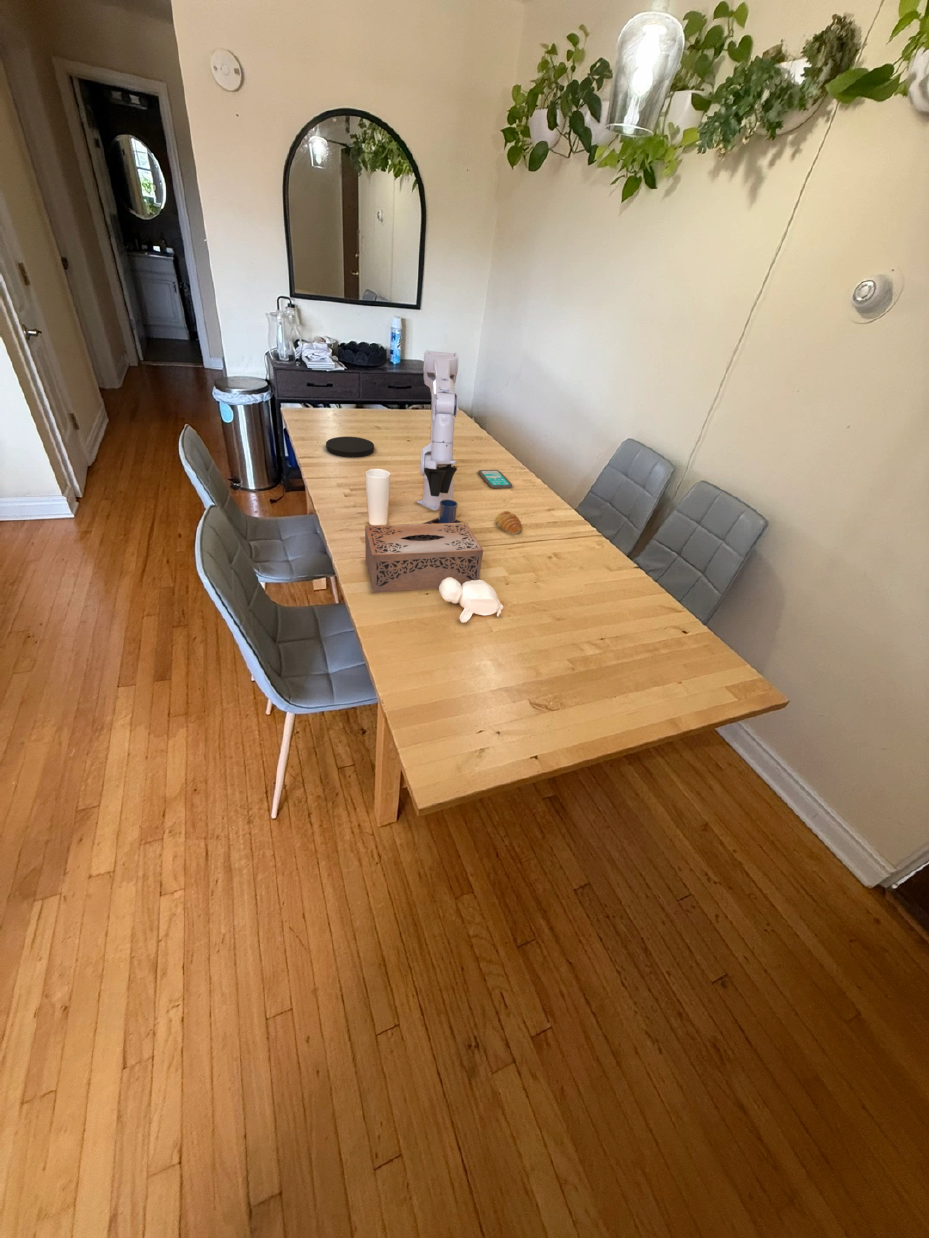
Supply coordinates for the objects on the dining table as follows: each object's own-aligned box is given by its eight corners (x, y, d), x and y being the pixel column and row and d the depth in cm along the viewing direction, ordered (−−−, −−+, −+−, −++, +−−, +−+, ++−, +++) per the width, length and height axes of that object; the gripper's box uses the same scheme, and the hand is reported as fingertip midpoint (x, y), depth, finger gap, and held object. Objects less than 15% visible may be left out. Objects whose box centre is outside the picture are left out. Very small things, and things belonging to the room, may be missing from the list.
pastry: (526, 534, 151) (529, 522, 148) (507, 537, 148) (509, 525, 146) (511, 520, 157) (513, 509, 155) (492, 522, 155) (493, 511, 152)
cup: (446, 523, 150) (448, 498, 145) (458, 529, 147) (461, 504, 143) (434, 528, 147) (436, 502, 142) (446, 534, 144) (449, 508, 140)
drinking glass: (385, 530, 144) (385, 479, 135) (362, 526, 144) (361, 475, 135) (392, 520, 149) (393, 471, 140) (370, 516, 150) (370, 467, 141)
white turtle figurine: (482, 609, 123) (427, 594, 115) (499, 580, 119) (443, 563, 112) (493, 630, 116) (435, 616, 109) (511, 601, 112) (453, 584, 105)
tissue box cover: (372, 592, 118) (372, 555, 112) (365, 561, 129) (365, 525, 123) (478, 585, 125) (483, 550, 119) (462, 556, 136) (466, 522, 130)
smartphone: (498, 469, 189) (513, 484, 178) (498, 471, 190) (513, 487, 179) (477, 469, 187) (490, 485, 176) (476, 472, 187) (490, 488, 176)
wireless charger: (350, 438, 203) (350, 433, 202) (383, 451, 196) (383, 445, 195) (316, 447, 191) (315, 442, 190) (349, 461, 184) (349, 455, 183)
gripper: (448, 444, 127) (444, 499, 132) (464, 443, 140) (461, 493, 145) (421, 441, 129) (419, 496, 134) (440, 441, 142) (437, 490, 147)
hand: (439, 494), depth 139 cm, fingers open, 7 cm apart
